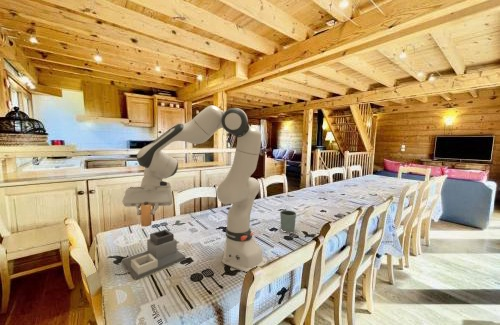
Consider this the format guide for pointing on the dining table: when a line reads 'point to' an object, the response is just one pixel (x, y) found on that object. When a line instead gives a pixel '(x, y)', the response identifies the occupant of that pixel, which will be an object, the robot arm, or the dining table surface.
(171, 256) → the grey socket base
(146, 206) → the plug
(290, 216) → the grey cup
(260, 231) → the dining table surface
